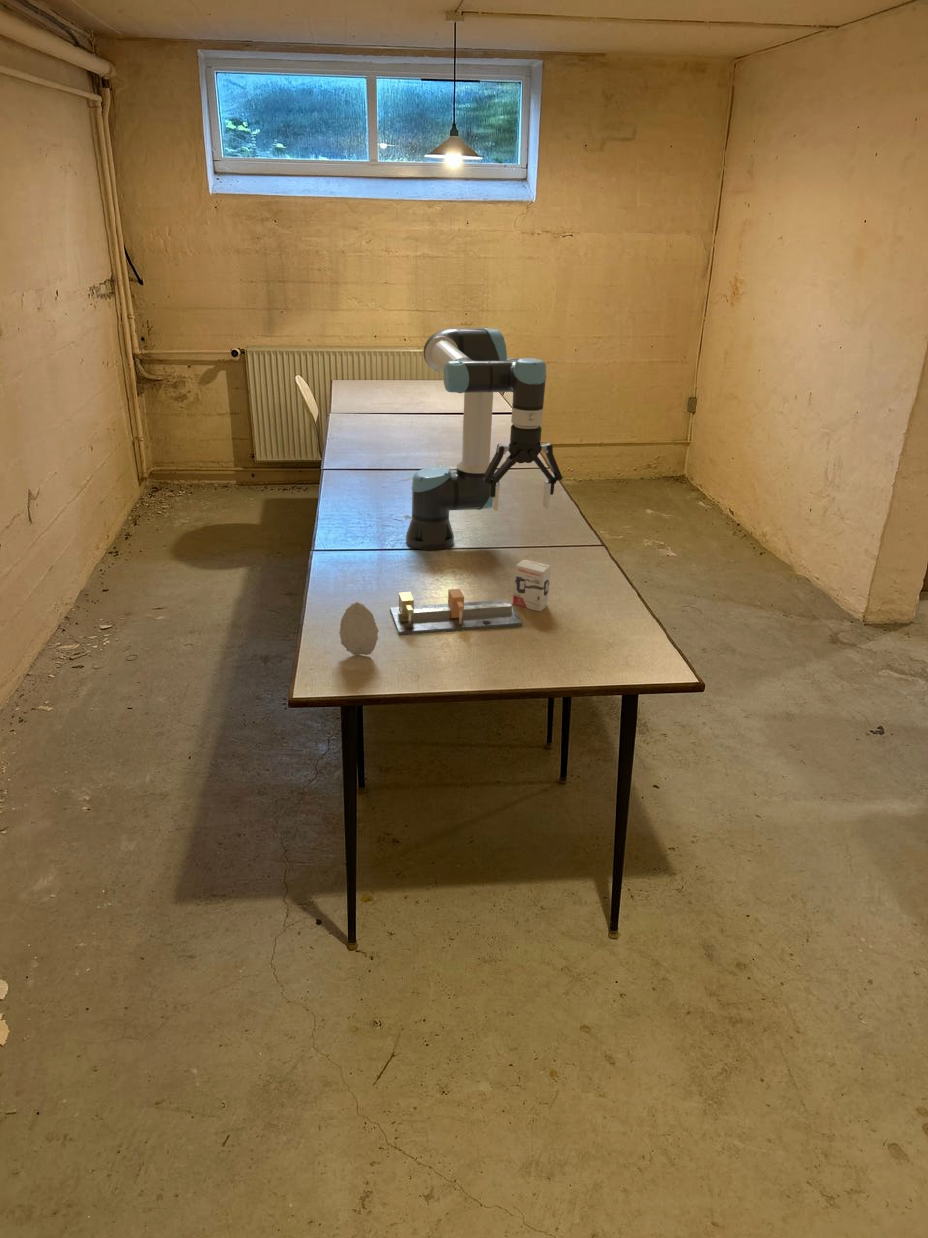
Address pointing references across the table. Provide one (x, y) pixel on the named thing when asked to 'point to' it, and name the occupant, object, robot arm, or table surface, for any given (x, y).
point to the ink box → (531, 585)
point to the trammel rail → (444, 610)
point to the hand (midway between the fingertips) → (520, 507)
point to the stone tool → (358, 630)
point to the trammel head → (456, 603)
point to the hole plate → (456, 621)
